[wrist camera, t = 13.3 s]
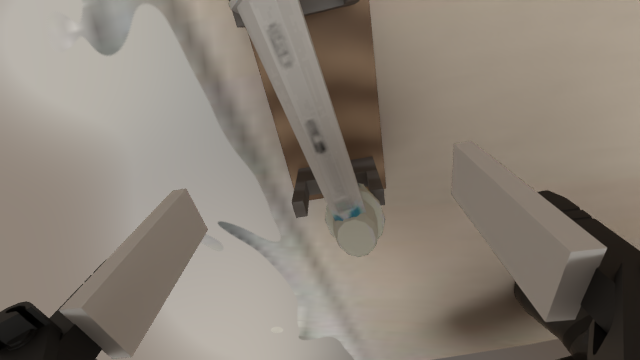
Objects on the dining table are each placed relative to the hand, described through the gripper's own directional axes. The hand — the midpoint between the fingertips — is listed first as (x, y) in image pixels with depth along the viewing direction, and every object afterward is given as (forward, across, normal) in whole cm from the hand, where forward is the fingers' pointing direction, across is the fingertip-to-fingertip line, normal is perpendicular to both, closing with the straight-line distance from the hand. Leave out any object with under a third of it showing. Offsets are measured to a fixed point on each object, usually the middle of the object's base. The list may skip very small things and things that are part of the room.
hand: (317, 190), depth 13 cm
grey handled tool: (+12, 0, 0) cm, 12 cm away
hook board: (+20, 0, 0) cm, 20 cm away
